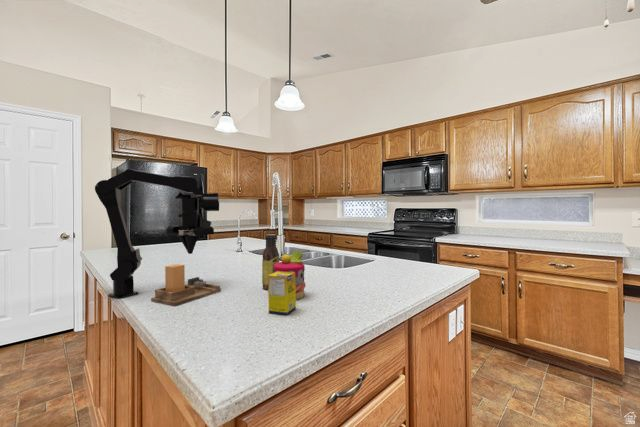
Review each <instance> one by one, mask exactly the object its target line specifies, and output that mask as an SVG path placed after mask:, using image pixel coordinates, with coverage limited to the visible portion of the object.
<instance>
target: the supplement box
mask: <svg viewBox="0 0 640 427" xmlns="http://www.w3.org/2000/svg"><path fill="white" fill-rule="evenodd" d="M267 291H268V292H267V293H268V294H267V295H268V314H274V315H275V314H276V315H283V316H289V315H290V314H291V313H292V312H294V311H295V310H296V306H297V305H296V303H297V302H296V301H297V300H296V292H295V272H281V271H277V272H275V273H272V274H270V275H268V289H267Z"/></svg>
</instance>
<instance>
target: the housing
mask: <svg viewBox="0 0 640 427" xmlns="http://www.w3.org/2000/svg"><path fill="white" fill-rule="evenodd" d="M200 279H201V278H200V277H199V276H197V277H191V278H189V279H187V285H185V289H184V290H180V291H177V292H167V291H166V286H165V287H162V288H158V289H154V296H153V297H151V298H150V300H151V302H152V303H156V304H162V305H168V306H171V307H179V306H180V305H183V304H186V303H189V302H193V301H195V300H199V299H202V298H205V297H208V296H211V295H214V294H216V293H219V292H222V288H221V286H220V285H217V284H210V283H206V287H201V286H195V285H193V282H194V281H198V280H200Z"/></svg>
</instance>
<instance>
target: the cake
mask: <svg viewBox="0 0 640 427" xmlns="http://www.w3.org/2000/svg"><path fill="white" fill-rule="evenodd" d="M303 255H304V254H303V251H302V252H301V251H298V250H294V251H292V253H291V255H290V254H283V255H282V257H281V261H279V263H276V264H275V265H274V273H275V272H277V271H281V272H295V292H296V301H299V300H302V299H303V298H304V297H305V288H306V282H305V271H306V270H305V269H306V268H305V266H306V265H305V264H304V263H303V260H302V259H301V258H302V257H303Z"/></svg>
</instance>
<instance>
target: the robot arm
mask: <svg viewBox="0 0 640 427" xmlns="http://www.w3.org/2000/svg"><path fill="white" fill-rule="evenodd" d="M134 182H139V183H145V184H150V185H156V186H161V187H162V186H163V187H169V188H172V189H174V190H177V191H179V193H178V194H177V195H176V196H175V199H176V200H180V210H181V211H180V212H181V213H178V218H181V220H180V221H181V225H168V227H167V228H166V234H168V235H170V234H171V235H172V234H177V235H176V237H178V238H179V239H180V241H181V242H182V245H183V246H184V248H185V250H186V252H187V254H189V255H191V254H193V252H194V250H195V247H196V243H197V242H198V240H199V239H200V237H203V236H207V235H208V236H209V235H214V234H215V229H214V227H213V226H211V225H212V221H210V220H208V219H206V218H205V219H204V218H202V213H199V209H202V210H203V212H220V201H219V200H220V199H219V193H218V192H214V193H206V192H205V193H203V191H202V190H201V188H199V183H198V180H197V179H196V178H195V177H192V176H183V175H179V176H176V175H175V176H173V175H172V176H171V175H164V174H158V173H152V172H147V171H141V170H136V169H134V168H127V169H125V170H124V171H122V172H121V173H118V174H115V175H114V176H112V177H110V178H108V179H102V180H99V181H98V182H97V183H96V184H95V185H94V192H95V194H96V196H97V197H98V199H99V201H100V202H101V204H102V205H103V206H104V208H105V210H106V214H107V217H108V220H109V225H110V228H111V231H112V234H113V237H114V240H115V244H116V247H117V250H116V251H117V252H116V255H117V256H116V262H117V263H116V265H117V267H116V268H115V269H114V270H112V272H111V273H109V277H110V279H111V281H112V293H109V294H108V297H111V298H115V299H122V298H127V297H130V296H134V295H137V294H139V292H138V291H135V290H134V289H135V288H134V273H135V272H136V271H137V270H138V269H139V268H140V267H141V264H142V263H141V262H142V260H143V257H142V256H141V252H140V248H136V249H135V248H134V246H133V244H132V242H131V239H130V236H129V235H130V234H129V231H128V229H127V224H126V221H125V216H124V213H123V210H122V207H121V206H122V204H121V202H122V200H121V199H122V194H121V192H122V190H124V189H125V188H127V187H128V186H129V185H131V184H132V183H134ZM182 192H183V193H187V194H183V193H182ZM192 194H193V195H195V197H192Z"/></svg>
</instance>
